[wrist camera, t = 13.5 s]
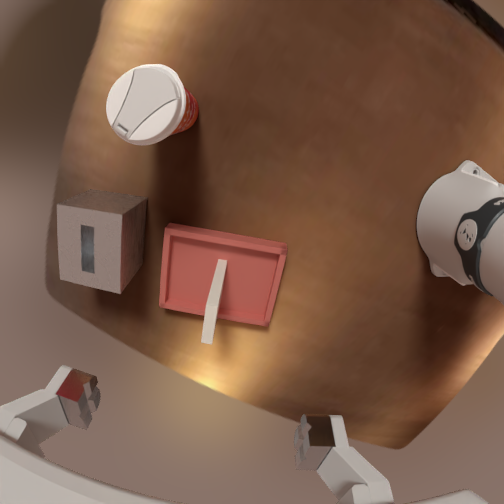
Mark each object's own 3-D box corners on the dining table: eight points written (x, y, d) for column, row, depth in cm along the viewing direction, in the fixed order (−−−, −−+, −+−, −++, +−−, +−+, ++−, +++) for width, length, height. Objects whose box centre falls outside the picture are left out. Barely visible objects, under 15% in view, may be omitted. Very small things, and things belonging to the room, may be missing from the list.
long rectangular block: (227, 260, 43) (217, 306, 32) (222, 292, 45) (211, 344, 34) (218, 258, 43) (206, 304, 32) (213, 291, 45) (201, 342, 34)
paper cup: (182, 151, 39) (147, 163, 26) (138, 118, 37) (86, 116, 24) (220, 104, 37) (202, 90, 24) (174, 71, 35) (136, 46, 22)
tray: (286, 243, 43) (287, 249, 41) (268, 317, 48) (268, 326, 45) (169, 222, 43) (164, 228, 40) (163, 298, 47) (159, 306, 44)
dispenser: (147, 197, 41) (122, 214, 33) (142, 264, 45) (120, 293, 36) (90, 189, 41) (57, 204, 32) (89, 253, 44) (60, 279, 36)
